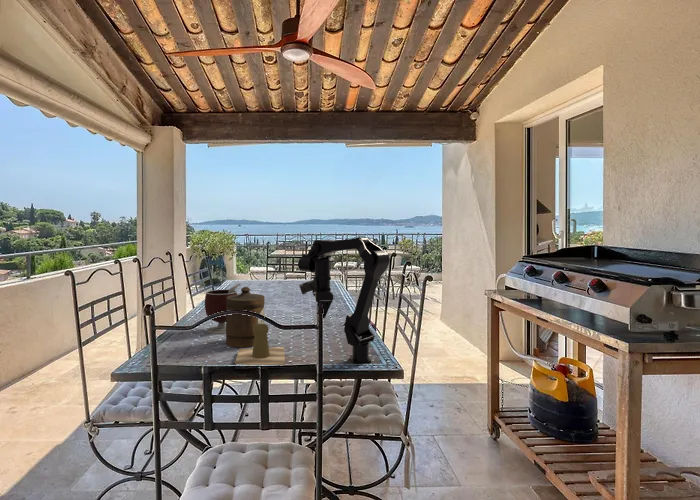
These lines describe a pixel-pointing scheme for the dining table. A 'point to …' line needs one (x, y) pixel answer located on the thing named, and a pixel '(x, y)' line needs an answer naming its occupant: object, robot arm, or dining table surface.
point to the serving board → (273, 359)
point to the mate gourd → (218, 307)
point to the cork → (260, 341)
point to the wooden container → (243, 318)
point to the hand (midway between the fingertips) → (322, 315)
